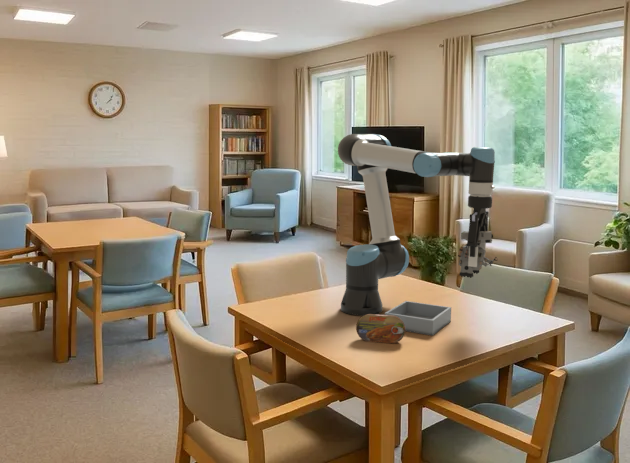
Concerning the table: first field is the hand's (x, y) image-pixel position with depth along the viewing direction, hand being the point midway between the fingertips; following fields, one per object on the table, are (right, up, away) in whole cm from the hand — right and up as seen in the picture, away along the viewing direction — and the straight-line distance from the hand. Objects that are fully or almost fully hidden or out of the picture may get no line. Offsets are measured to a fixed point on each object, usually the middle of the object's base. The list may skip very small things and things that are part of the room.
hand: (476, 263), depth 207 cm
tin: (-33, -23, -12) cm, 42 cm away
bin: (-18, -21, +5) cm, 28 cm away
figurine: (0, -4, +1) cm, 4 cm away
